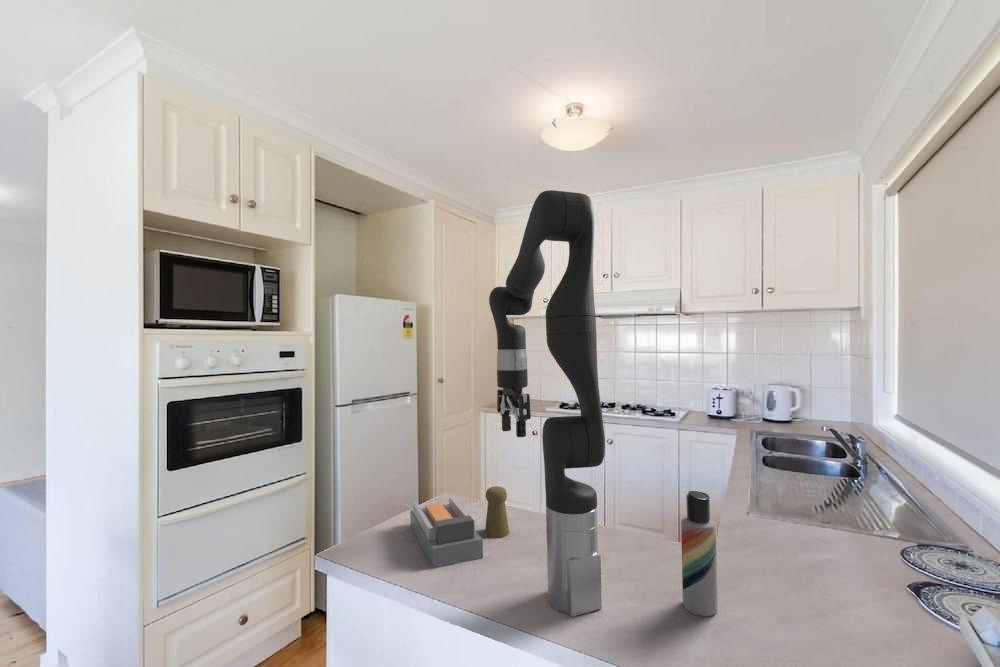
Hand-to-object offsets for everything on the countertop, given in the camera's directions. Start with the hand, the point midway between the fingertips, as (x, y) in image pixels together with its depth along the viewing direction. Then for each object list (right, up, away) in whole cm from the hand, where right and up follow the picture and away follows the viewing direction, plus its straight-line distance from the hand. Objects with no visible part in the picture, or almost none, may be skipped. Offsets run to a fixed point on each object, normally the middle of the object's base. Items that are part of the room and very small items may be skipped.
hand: (513, 433), depth 115 cm
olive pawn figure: (-4, -24, 0) cm, 25 cm away
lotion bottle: (+32, -24, -33) cm, 52 cm away
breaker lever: (-17, -20, -3) cm, 27 cm away
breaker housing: (-17, -24, -4) cm, 30 cm away
